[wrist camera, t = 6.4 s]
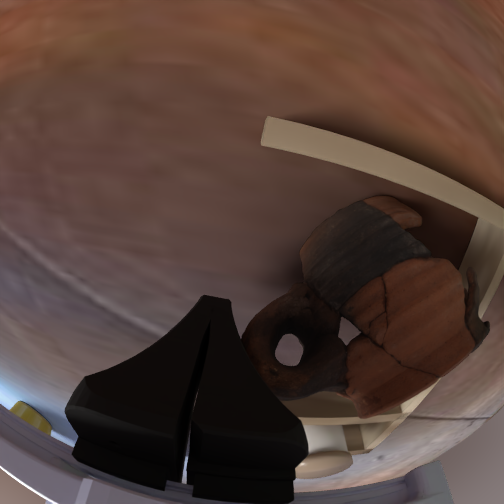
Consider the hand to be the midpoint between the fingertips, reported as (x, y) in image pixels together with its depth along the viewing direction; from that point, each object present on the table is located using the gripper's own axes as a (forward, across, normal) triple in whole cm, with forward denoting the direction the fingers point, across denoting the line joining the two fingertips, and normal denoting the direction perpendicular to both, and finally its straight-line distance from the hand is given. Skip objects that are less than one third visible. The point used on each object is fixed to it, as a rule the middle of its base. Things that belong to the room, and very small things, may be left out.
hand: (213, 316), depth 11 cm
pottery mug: (+3, -7, -1) cm, 7 cm away
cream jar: (+3, -9, +10) cm, 14 cm away
